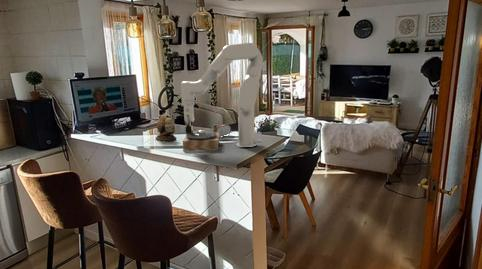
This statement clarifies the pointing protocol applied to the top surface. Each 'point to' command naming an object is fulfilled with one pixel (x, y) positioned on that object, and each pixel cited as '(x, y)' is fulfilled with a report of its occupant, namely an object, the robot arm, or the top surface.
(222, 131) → the tin
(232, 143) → the top surface
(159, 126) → the owl figurine
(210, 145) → the wheel block
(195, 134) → the pot lid
